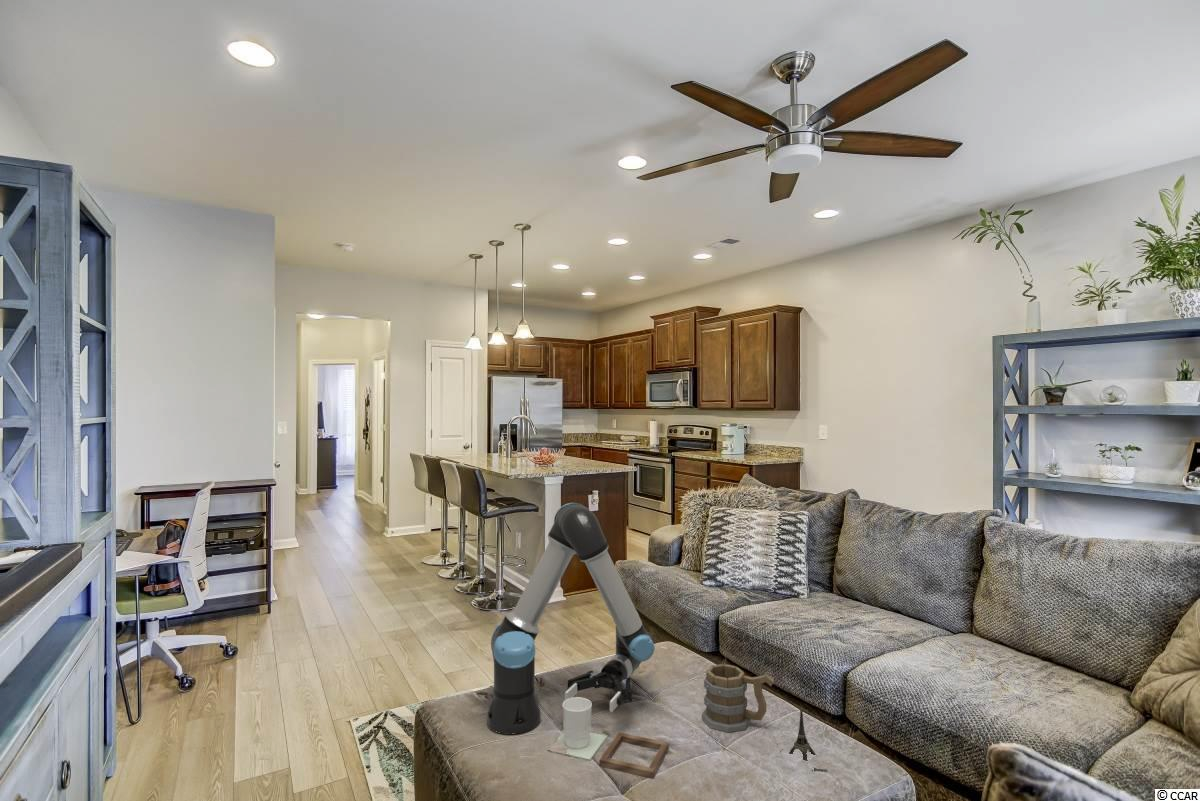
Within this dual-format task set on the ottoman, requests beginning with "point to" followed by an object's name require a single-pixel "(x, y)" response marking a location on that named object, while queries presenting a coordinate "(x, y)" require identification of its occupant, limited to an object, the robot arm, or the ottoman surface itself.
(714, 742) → the ottoman surface
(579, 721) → the white cup
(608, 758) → the walnut collar
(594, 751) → the sage tile
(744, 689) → the tankard
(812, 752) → the eiffel tower figurine
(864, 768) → the ottoman surface
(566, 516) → the robot arm
